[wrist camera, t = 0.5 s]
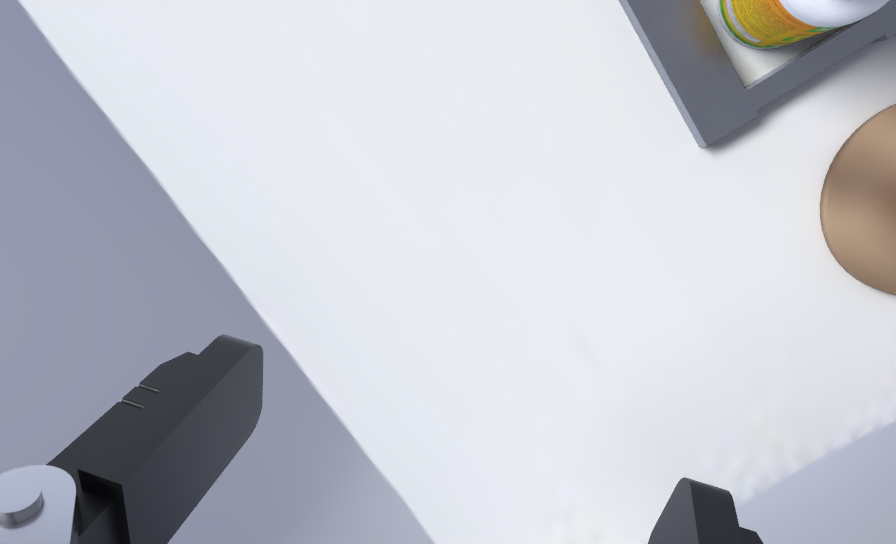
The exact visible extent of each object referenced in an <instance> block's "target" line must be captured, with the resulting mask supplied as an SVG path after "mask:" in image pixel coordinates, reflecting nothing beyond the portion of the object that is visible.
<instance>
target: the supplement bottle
mask: <svg viewBox="0 0 896 544" xmlns="http://www.w3.org/2000/svg"><path fill="white" fill-rule="evenodd" d="M888 1H889V0H717V8H718V13H719V17H720V20H721V22H722V24H723V26H724V28H725V30H726V31H727V32H728V33H729V35H730V36H731V37H732V38H734V39H735V40H736V41H738V42H739V43H741V44H743V45H745V46H747V47H751V48H755V49H773V48H778V47H782V46H785V45H788V44H791V43H794V42H797V41H800V40H803V39H806V38H808V37H811V36H814V35H817V34H820V33H823V32H826V31H829V30H832V29H835V28H838V27H842V26H845V25H848V24H851V23H853V22H856V21H858V20H861V19H863V18H865V17H867V16H869V15H871V14H872V13H874V12H876V11H877V10H878V9H880V8H881V7H882V6H884V5H885V4H886V3H887V2H888Z"/></svg>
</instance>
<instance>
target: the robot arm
mask: <svg viewBox="0 0 896 544" xmlns="http://www.w3.org/2000/svg"><path fill="white" fill-rule="evenodd" d="M262 385H263V349H262V347H261V346H260V345H257V344H253V343H250V342H247V341H244V340H240V339H237V338H234V337H231V336H228V335H221V336H219V337H217V338H216V339H215V340H214V341H213V342H212V343H211V344H210V345H209V346H208V347H206V348H205V349H204V350H203V351H202V352H201V353H200V354H199V355H196V354H193V353H190V352H187V353H185V354H183V355H180V356H178V357H176V358H174V359H172V360H169V361H167V362H165V363H163V364H161V365H160V366H158V367H157V368H156V369H155V370H154V371H153V372H152V373H150V374H149V375H148V376H147V377H146V378H145V379H144V380H142V381H141V382H140V384H139V386H138V387H135V388H134V389H132V390H131V391H130V392H129V393H128V394H127V395H125V396H124V397H123V399H122V401H121V402H118V403H116V404H115V405H114V406H113V407H112V408H111V409H110V410H108V411H107V412H106V413H105V414H104V415H103V416H102V417H100V418H99V419H98V420H97V421H96V422H95V423H94V424H93V425H91V426H90V427H89V428H88V429H87V430H86V431H85V432H84V433H83V434H81V435H80V436H79V437H78V438H77V439H76V440H74V441H73V442H72V443H71V444H70V445H69V446H68V447H67V448H65V449H64V450H63V451H62V452H61V453H60V454H59V455H57V456H56V457H55V458H54V459H53V460H52V461H50V462H49V463H48V464H46V465H33V466H25V467H20V468H16V469H13V470H10V471H7V472H5V473H2V474H0V544H167V543H168V542H169V540H170V539H171V538H172V537H173V535H174V534H175V533H176V531H177V530H178V529H179V528H180V526H181V525H182V524H183V522H184V521H185V520H186V519H187V517H188V516H189V515H190V513H191V512H192V511H193V509H194V508H195V507H196V506H197V504H198V503H199V502H200V500H201V499H202V498H203V496H204V495H205V494H206V493H207V491H208V490H209V489H210V487H211V486H212V485H213V484H214V482H215V481H216V479H217V478H218V477H219V476H220V474H221V473H222V472H223V471H224V469H225V468H226V467H227V465H228V464H229V463H230V461H231V460H232V459H233V458H234V456H235V455H236V454H237V452H238V451H239V450H240V448H241V447H242V446H243V444H244V443H245V442H246V441H247V439H248V438H249V437H250V435H251V434H252V432H253V431H254V429H255V427H256V424H257V422H258V420H259V416H260V413H261V409H262V390H263V389H262V387H263V386H262ZM648 544H763V542H762V541H761V539H760V538H759V536H758V534H757V533H756V532H754V531H751V530H748V529H745V528H741V527H739V524H738V519H737V515H736V510H735V506H734V501H733V498H732V495H731V494H730V492H729V491H727V490H724V489H721V488H718V487H714V486H711V485H708V484H705V483H701V482H698V481H695V480H692V479H688V478H682V479H681V480H680V481H679V482H678V484H677V485H676V487H675V489H674V491H673V493H672V495H671V497H670V499H669V501H668V502H667V504H666V506H665V508H664V510H663V512H662V514H661V516H660V517H659V519H658V521H657V523H656V525H655V527H654V529H653V531H652V533H651V536H650V539H649V542H648Z"/></svg>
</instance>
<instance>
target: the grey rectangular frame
mask: <svg viewBox="0 0 896 544" xmlns="http://www.w3.org/2000/svg"><path fill="white" fill-rule="evenodd" d="M619 1H620V3H621V5H622V7H623V9H624V11H625V12H626V14H627V16H628V18H629V20H630V22H631V23H632V25H633V27H634V29H635V31H636V32H637V34H638V36H639V38H640V40H641V42H642V43H643V45H644V47H645V49H646V51H647V53H648V54H649V56H650V58H651V60H652V62H653V63H654V65H655V67H656V69H657V71H658V73H659V74H660V76H661V78H662V80H663V82H664V84H665V85H666V87H667V89H668V91H669V93H670V94H671V96H672V98H673V100H674V102H675V104H676V105H677V107H678V109H679V111H680V113H681V115H682V116H683V118H684V120H685V122H686V124H687V125H688V127H689V129H690V131H691V133H692V135H693V136H694V138H695V140H696V142H697V144H698V146H699V147H708V146H709V145H711V144H713V143H714V142H716V141H718V140H719V139H721V138H723V137H724V136H726V135H728V134H729V133H731V132H733V131H734V130H736V129H738V128H739V127H741V126H743V125H745V124H746V123H748V122H750V121H751V120H753V119H755V118H756V117H758V116H759V115H758V113H757V110H759V109H760V108H762V107H764V106H765V105H767V104H769V103H770V102H772V101H774V100H775V99H777V98H779V97H780V96H782V95H784V94H785V93H787V92H789V91H790V90H792V89H794V88H795V87H797V86H799V85H800V84H802V83H804V82H805V81H807V80H809V79H810V78H812V77H814V76H815V75H817V74H819V73H821V72H822V71H824V70H826V69H827V68H829V67H831V66H832V65H834V64H836V63H837V62H839V61H841V60H842V59H844V58H846V57H847V56H849V55H851V54H852V53H854V52H856V51H857V50H859V49H861V48H862V47H864V46H866V45H867V44H869V43H871V42H873V43H874V42H878V41H882V40H886V39H889V38H890V37H892V36H894V35H895V34H896V0H889V1H888V2H887V3H886V4H885V5H884V6H882V7H881V8H880V9H878V10H877V11H876V12H874V13H872V14H871V15H869V16H867V17H865V18H863V19H861V20H858V21H856V22H853V23H851V24H849V25H847V26H846V27H844V28H842V29H841V30H839V31H837V32H836V33H834V34H832V35H831V36H829V37H827V38H826V39H824V40H822V41H821V42H819V43H818V44H816V45H814V46H813V47H811V48H809V49H808V50H806V51H804V52H803V53H801V54H799V55H798V56H796V57H795V58H793V59H791V60H790V61H788V62H786V63H785V64H783V65H781V66H780V67H778V68H776V69H775V70H773V71H772V72H770V73H768V74H767V75H765V76H763V77H762V78H760V79H758V80H757V81H755V82H753V83H752V84H750V85H748V86H747V87H745V88H744V86H743V84H742V82H741V80H740V78H739V77H738V75H737V73H736V71H735V69H734V67H733V65H732V63H731V61H730V59H729V58H728V56H727V54H726V52H725V50H724V48H723V46H722V44H721V42H720V40H719V39H718V37H717V35H716V33H715V31H714V29H713V27H712V25H711V23H710V21H709V20H708V18H707V16H706V14H705V12H704V10H703V8H702V6H701V4H700V2H699V1H698V0H619Z"/></svg>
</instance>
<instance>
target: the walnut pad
mask: <svg viewBox="0 0 896 544" xmlns="http://www.w3.org/2000/svg"><path fill="white" fill-rule="evenodd" d="M820 219H821V225H822V231H823V234H824V237H825V240H826V243H827V245H828V247H829V249H830V251H831V253H832V254H833V256H834V257H835V259H836V260H837V262H838V263H839V264H840V265H841V266H842V267H843V268H844V269H845V270H846V271H847V272H848V273H849V274H850V275H852V276H853V277H854V278H856V279H857V280H859V281H861V282H862V283H864V284H866V285H868V286H870V287H873V288H875V289H878V290H881V291H883V292H886V293H889V294H893V295H896V104H894V105H892V106H890V107H888V108H886V109H884V110H882V111H881V112H879V113H877V114H876V115H874V116H873V117H871V118H870V119H869V120H867V121H866V122H865V123H863V124H862V125H861V126H860V127H859V128H858V129H857V130H856V131H855V132H854V133H853V134H852V135H851V136H850V137H849V138H848V139H847V140H846V142H845V143H844V144H843V146H842V147H841V148H840V150H839V151H838V153H837V154H836V156H835V158H834V160H833V162H832V163H831V165H830V167H829V170H828V172H827V175H826V178H825V180H824V184H823V188H822V192H821V201H820Z"/></svg>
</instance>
